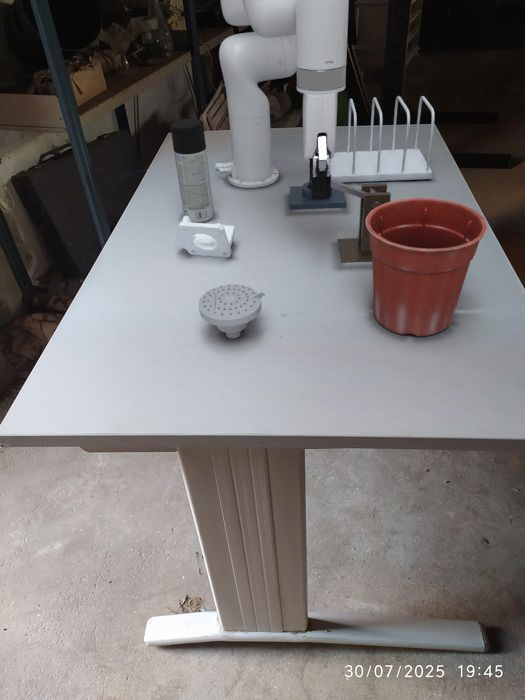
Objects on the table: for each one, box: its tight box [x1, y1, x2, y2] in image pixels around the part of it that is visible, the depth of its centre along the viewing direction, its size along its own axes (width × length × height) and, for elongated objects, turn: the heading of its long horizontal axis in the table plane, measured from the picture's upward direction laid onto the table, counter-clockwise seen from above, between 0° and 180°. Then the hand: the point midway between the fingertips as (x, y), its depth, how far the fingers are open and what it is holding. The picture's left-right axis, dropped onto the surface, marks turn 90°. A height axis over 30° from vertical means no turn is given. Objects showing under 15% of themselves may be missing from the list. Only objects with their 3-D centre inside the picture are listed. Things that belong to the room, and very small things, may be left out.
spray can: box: [169, 118, 215, 223], centre depth 112 cm, size 7×7×20 cm
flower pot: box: [366, 197, 488, 337], centre depth 81 cm, size 16×16×16 cm
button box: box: [289, 181, 347, 211], centre depth 120 cm, size 12×10×4 cm
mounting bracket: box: [174, 215, 236, 258], centre depth 103 cm, size 12×6×11 cm, turn 76°
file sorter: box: [330, 95, 435, 184], centre depth 130 cm, size 25×17×16 cm
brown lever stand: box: [336, 182, 392, 264], centre depth 98 cm, size 12×9×13 cm
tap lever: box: [312, 171, 381, 199], centre depth 94 cm, size 13×6×2 cm, turn 88°
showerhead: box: [197, 284, 266, 339], centre depth 82 cm, size 9×7×10 cm
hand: (319, 188), depth 94 cm, fingers open, 7 cm apart
